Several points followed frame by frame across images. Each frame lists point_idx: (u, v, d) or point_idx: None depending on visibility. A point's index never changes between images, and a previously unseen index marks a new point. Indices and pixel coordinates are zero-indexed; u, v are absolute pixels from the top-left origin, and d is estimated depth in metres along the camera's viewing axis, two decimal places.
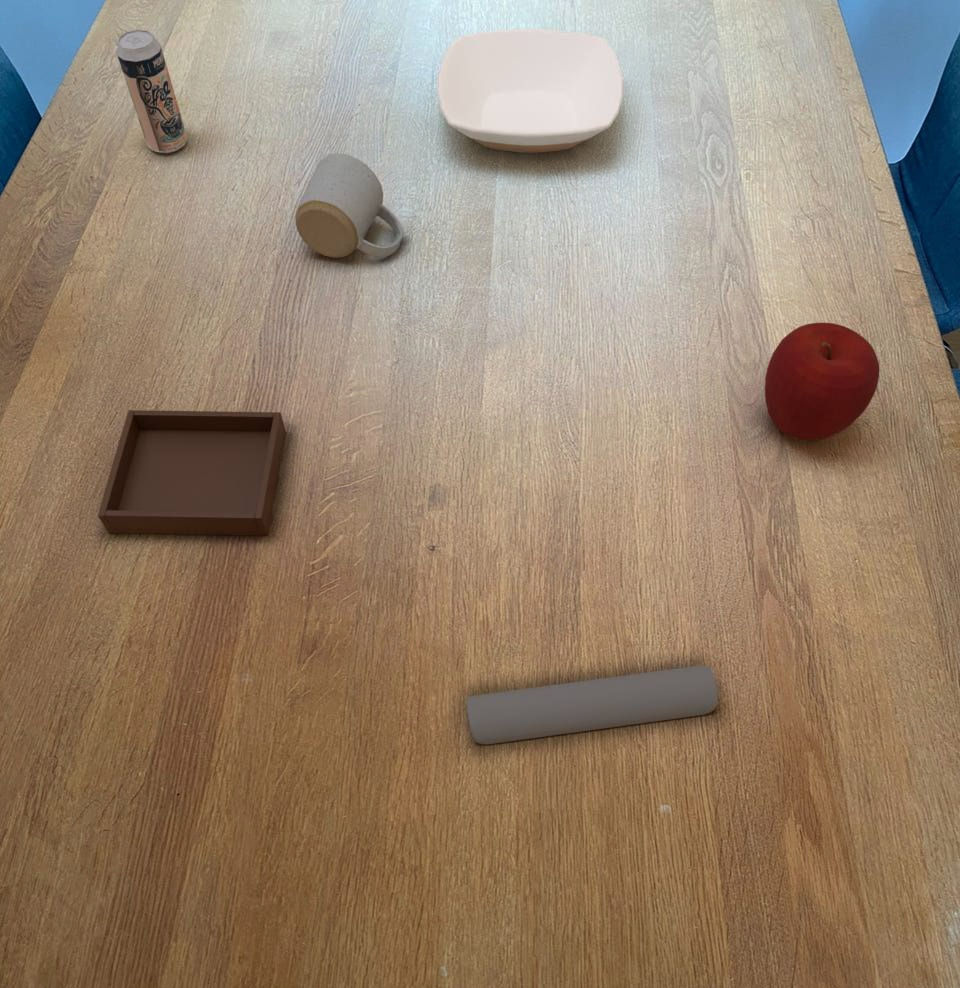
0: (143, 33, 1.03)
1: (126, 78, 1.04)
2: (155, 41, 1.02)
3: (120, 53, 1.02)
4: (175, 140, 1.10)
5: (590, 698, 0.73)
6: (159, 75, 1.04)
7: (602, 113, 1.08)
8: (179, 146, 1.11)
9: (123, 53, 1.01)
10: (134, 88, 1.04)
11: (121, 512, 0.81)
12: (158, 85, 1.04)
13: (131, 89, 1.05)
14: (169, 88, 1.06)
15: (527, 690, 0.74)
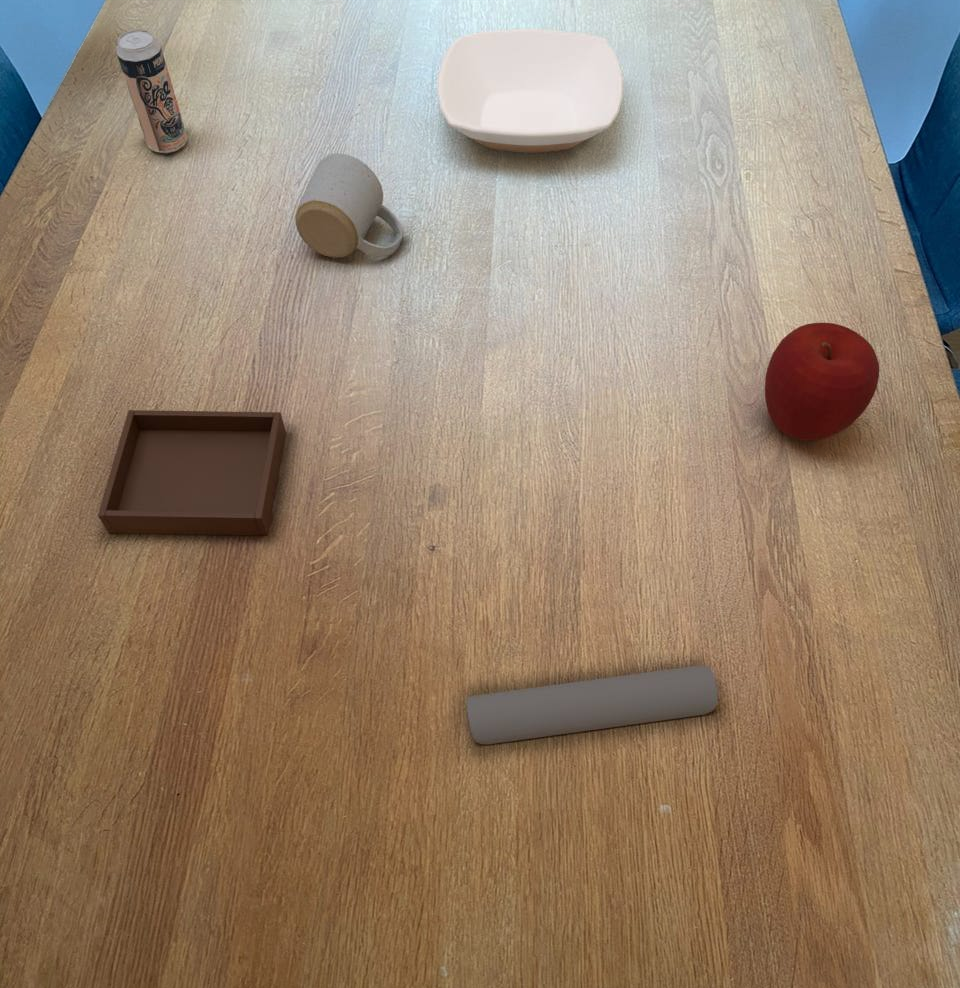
0: (143, 33, 1.03)
1: (126, 78, 1.04)
2: (155, 41, 1.02)
3: (120, 53, 1.02)
4: (175, 140, 1.10)
5: (590, 698, 0.73)
6: (159, 75, 1.04)
7: (602, 113, 1.08)
8: (179, 146, 1.11)
9: (123, 53, 1.01)
10: (134, 88, 1.04)
11: (121, 512, 0.81)
12: (158, 85, 1.04)
13: (131, 89, 1.05)
14: (169, 88, 1.06)
15: (527, 690, 0.74)
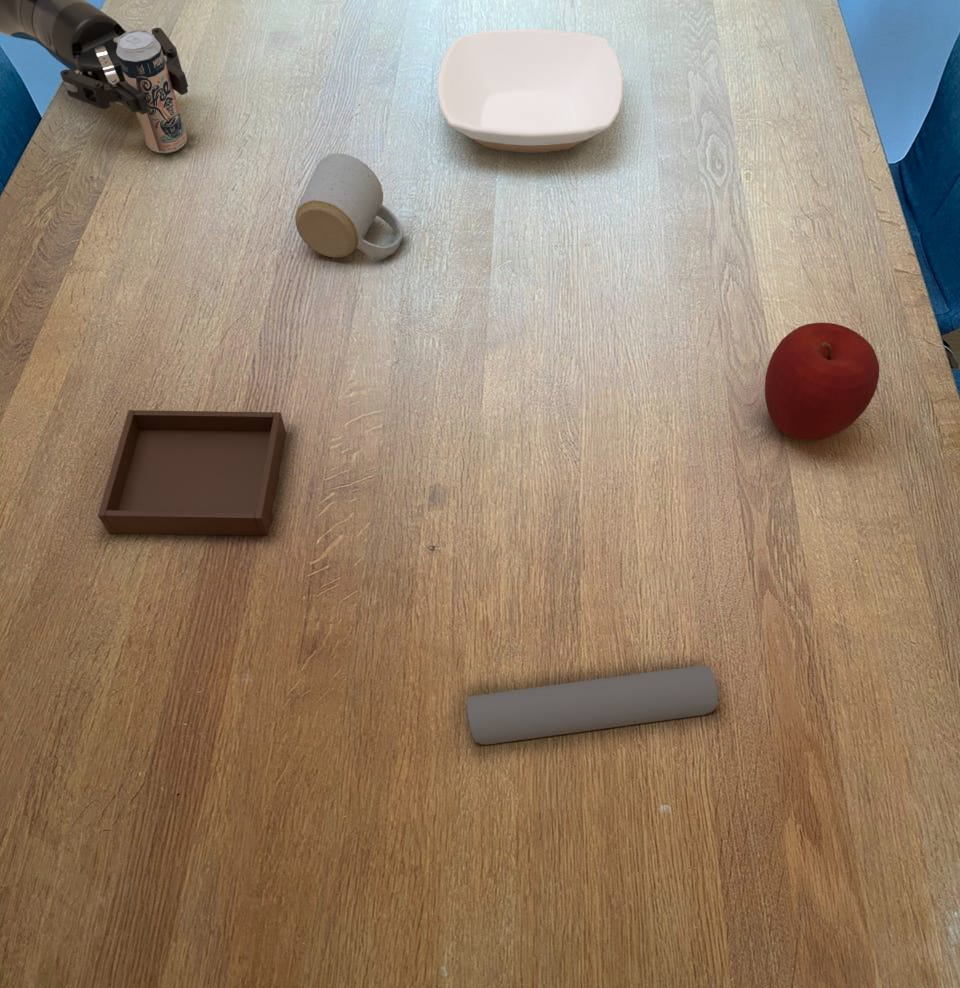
0: (143, 33, 1.03)
1: (126, 78, 1.04)
2: (155, 41, 1.02)
3: (120, 53, 1.02)
4: (175, 140, 1.10)
5: (590, 698, 0.73)
6: (159, 75, 1.04)
7: (602, 113, 1.08)
8: (179, 146, 1.11)
9: (123, 53, 1.01)
10: None
11: (121, 512, 0.81)
12: (158, 85, 1.04)
13: None
14: (169, 88, 1.06)
15: (527, 690, 0.74)
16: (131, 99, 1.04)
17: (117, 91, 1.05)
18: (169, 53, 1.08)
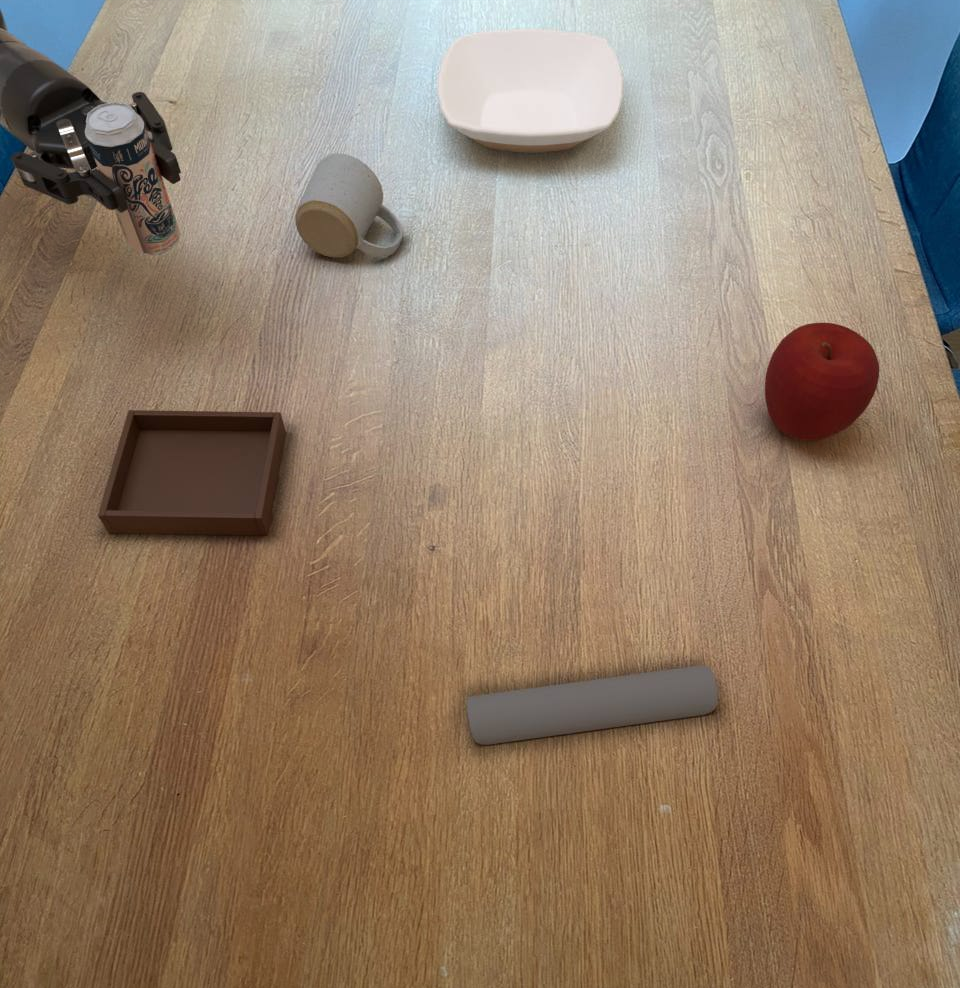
0: (120, 107, 0.77)
1: (99, 165, 0.79)
2: (137, 118, 0.77)
3: (90, 135, 0.76)
4: (165, 240, 0.84)
5: (590, 698, 0.73)
6: (143, 162, 0.78)
7: (602, 113, 1.08)
8: (170, 247, 0.85)
9: (94, 136, 0.76)
10: (110, 178, 0.79)
11: (121, 512, 0.81)
12: (141, 174, 0.79)
13: None
14: (156, 176, 0.80)
15: (527, 690, 0.74)
16: (106, 194, 0.78)
17: (87, 182, 0.79)
18: (155, 128, 0.82)
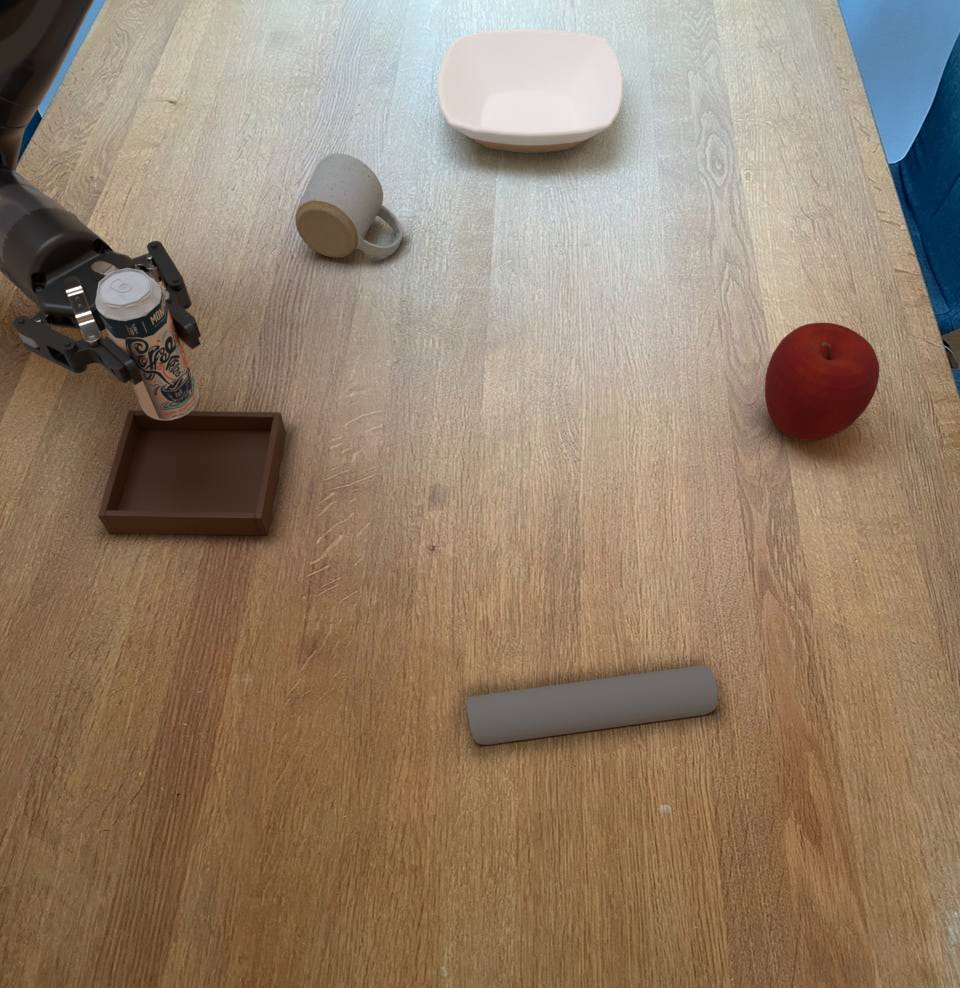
0: (135, 274, 0.69)
1: (110, 335, 0.71)
2: (153, 287, 0.69)
3: (101, 308, 0.68)
4: (182, 405, 0.76)
5: (590, 698, 0.73)
6: (159, 332, 0.70)
7: (602, 113, 1.08)
8: (187, 411, 0.77)
9: (105, 309, 0.68)
10: (123, 349, 0.71)
11: (121, 512, 0.81)
12: (158, 345, 0.71)
13: None
14: (174, 344, 0.72)
15: (527, 690, 0.74)
16: (117, 368, 0.70)
17: (97, 353, 0.71)
18: (173, 286, 0.74)
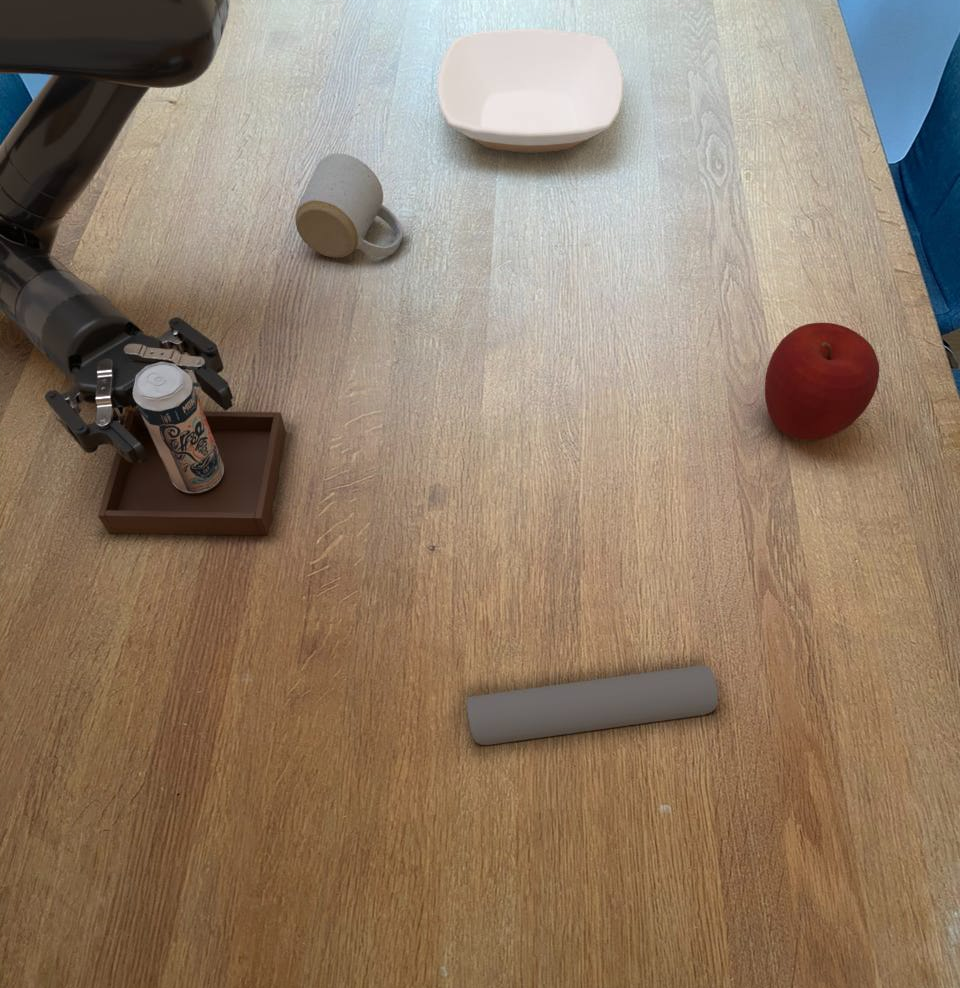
0: (169, 368, 0.76)
1: (145, 421, 0.78)
2: (185, 380, 0.76)
3: (138, 399, 0.75)
4: (209, 479, 0.83)
5: (590, 698, 0.73)
6: (190, 418, 0.77)
7: (602, 113, 1.08)
8: (214, 484, 0.84)
9: (142, 400, 0.75)
10: (157, 434, 0.78)
11: (121, 512, 0.81)
12: (188, 430, 0.78)
13: (152, 433, 0.78)
14: (203, 427, 0.79)
15: (527, 690, 0.74)
16: (126, 451, 0.76)
17: (107, 435, 0.77)
18: (208, 353, 0.81)
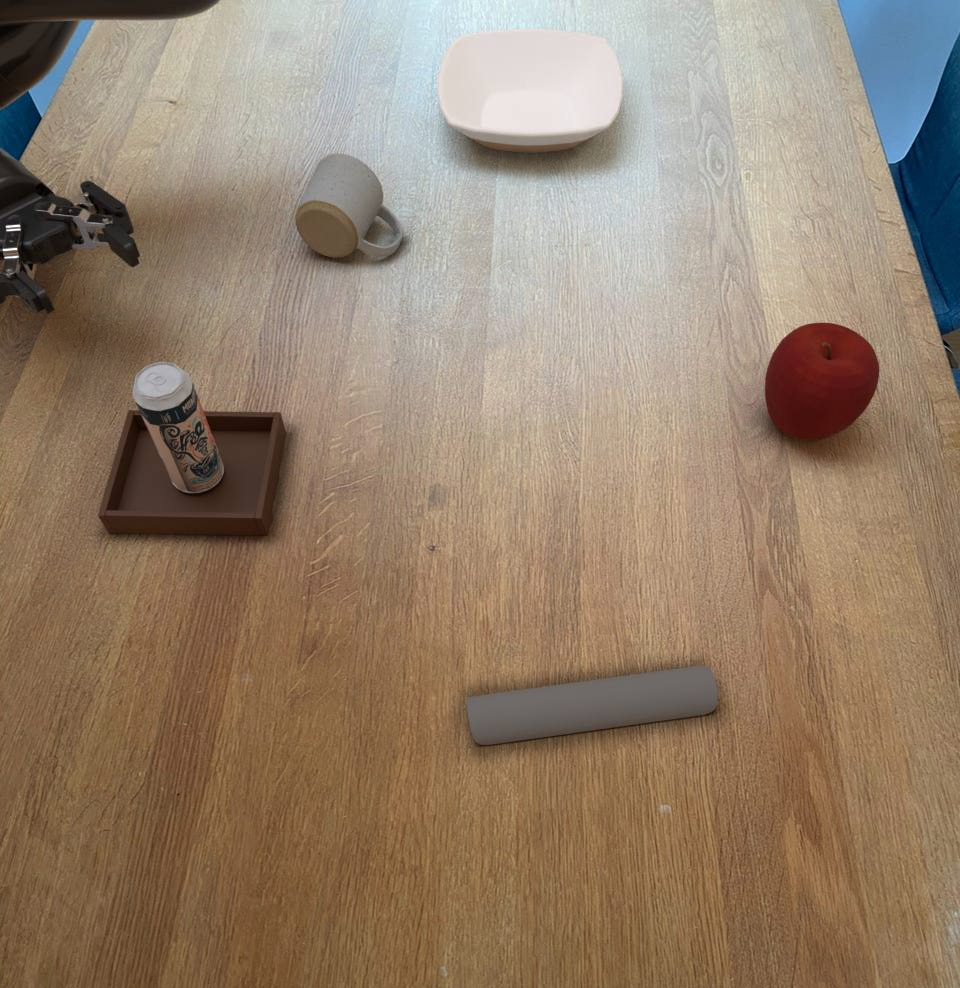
0: (169, 367, 0.76)
1: (145, 421, 0.78)
2: (185, 380, 0.76)
3: (138, 399, 0.75)
4: (209, 479, 0.83)
5: (590, 698, 0.73)
6: (190, 418, 0.77)
7: (602, 113, 1.08)
8: (214, 484, 0.84)
9: (142, 400, 0.75)
10: (156, 434, 0.78)
11: (121, 512, 0.81)
12: (188, 430, 0.78)
13: (151, 433, 0.78)
14: (202, 427, 0.79)
15: (527, 690, 0.74)
16: (31, 298, 0.78)
17: (13, 285, 0.79)
18: (116, 212, 0.83)
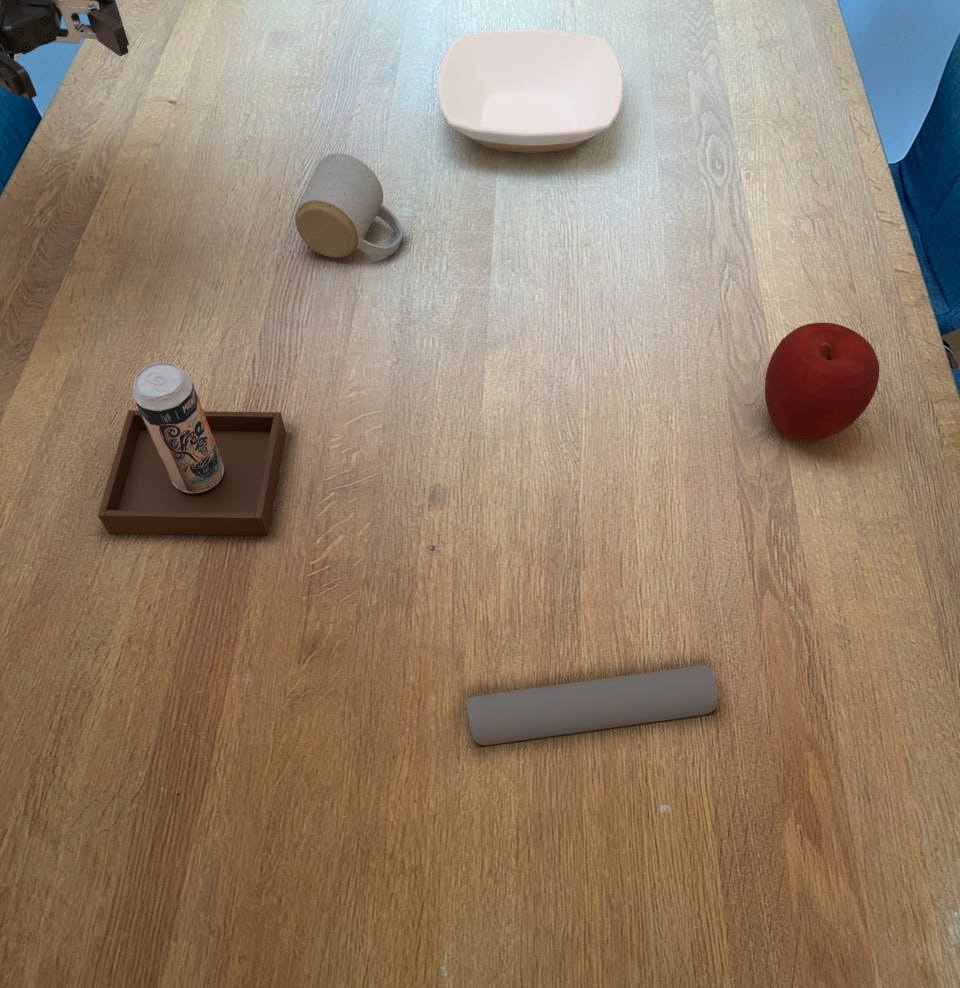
0: (169, 367, 0.76)
1: (145, 421, 0.78)
2: (185, 380, 0.76)
3: (138, 399, 0.75)
4: (209, 479, 0.83)
5: (590, 698, 0.73)
6: (190, 418, 0.77)
7: (602, 113, 1.08)
8: (214, 484, 0.84)
9: (142, 400, 0.75)
10: (156, 434, 0.78)
11: (121, 512, 0.81)
12: (188, 430, 0.78)
13: (151, 433, 0.78)
14: (202, 427, 0.79)
15: (527, 690, 0.74)
16: (10, 77, 0.72)
17: None
18: None
